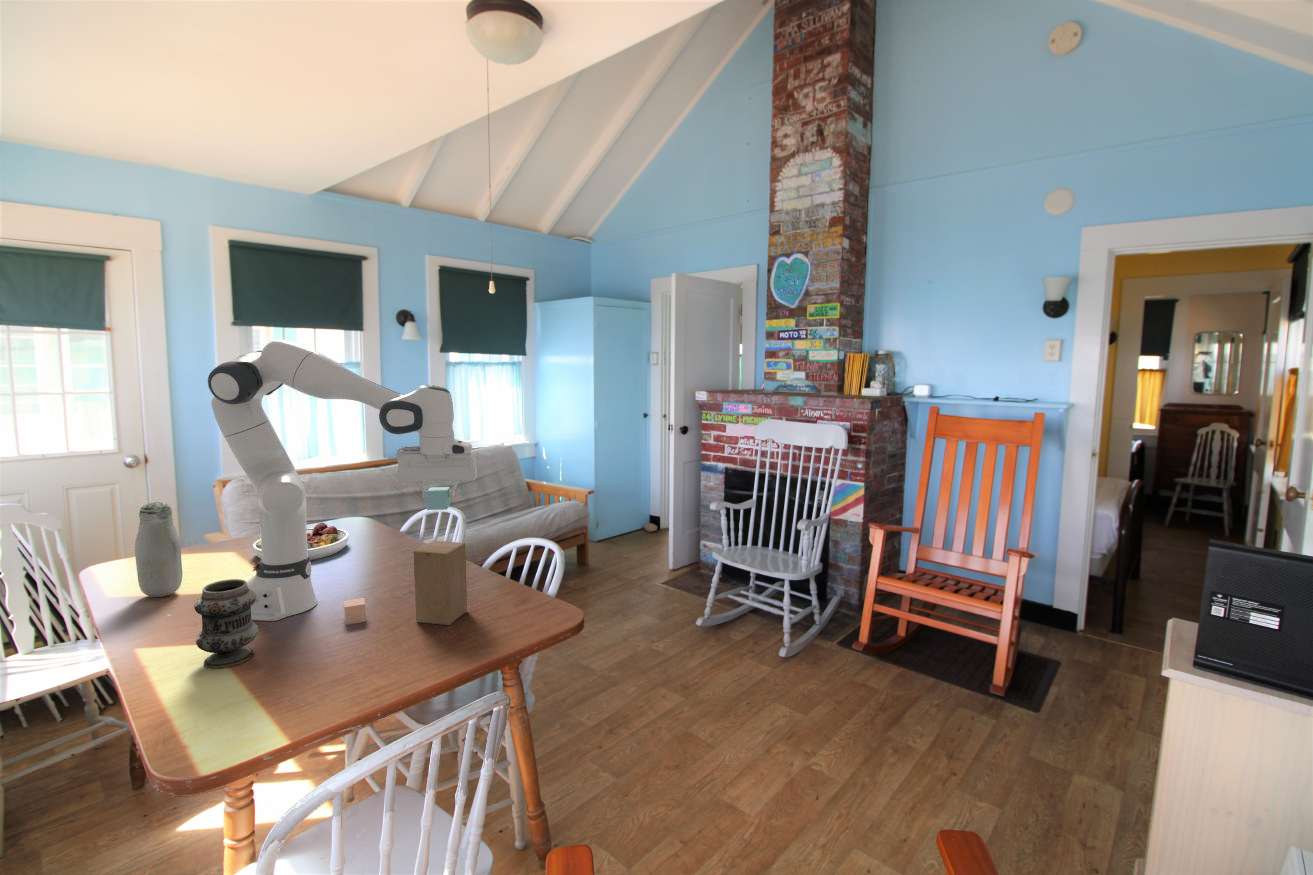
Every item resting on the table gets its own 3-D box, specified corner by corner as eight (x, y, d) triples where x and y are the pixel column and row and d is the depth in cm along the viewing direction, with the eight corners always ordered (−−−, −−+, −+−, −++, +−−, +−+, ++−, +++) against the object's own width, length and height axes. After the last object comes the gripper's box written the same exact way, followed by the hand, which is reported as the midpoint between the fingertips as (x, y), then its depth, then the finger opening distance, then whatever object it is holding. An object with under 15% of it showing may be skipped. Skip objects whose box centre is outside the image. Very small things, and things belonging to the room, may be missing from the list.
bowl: (321, 566, 209) (320, 544, 208) (233, 565, 209) (232, 543, 208) (363, 540, 238) (362, 521, 237) (286, 539, 239) (285, 519, 238)
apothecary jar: (250, 667, 141) (244, 591, 138) (188, 674, 137) (181, 597, 135) (267, 643, 152) (262, 573, 150) (210, 649, 149) (204, 578, 146)
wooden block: (449, 626, 164) (447, 553, 161) (415, 622, 165) (412, 550, 163) (467, 611, 173) (466, 542, 171) (435, 607, 175) (433, 540, 173)
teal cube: (427, 510, 162) (426, 491, 162) (431, 505, 167) (430, 487, 166) (446, 509, 163) (446, 491, 162) (450, 504, 168) (449, 487, 167)
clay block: (345, 625, 163) (344, 607, 163) (344, 618, 168) (343, 600, 167) (366, 621, 166) (365, 603, 165) (364, 614, 170) (363, 597, 169)
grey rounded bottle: (132, 603, 175) (123, 507, 172) (153, 589, 185) (145, 499, 182) (172, 600, 177) (163, 506, 174) (190, 587, 187) (183, 498, 184)
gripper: (392, 448, 159) (394, 500, 160) (474, 447, 162) (475, 498, 164) (398, 445, 165) (401, 495, 167) (477, 444, 168) (478, 493, 170)
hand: (438, 497), depth 165 cm, fingers closed on teal cube, 5 cm apart
